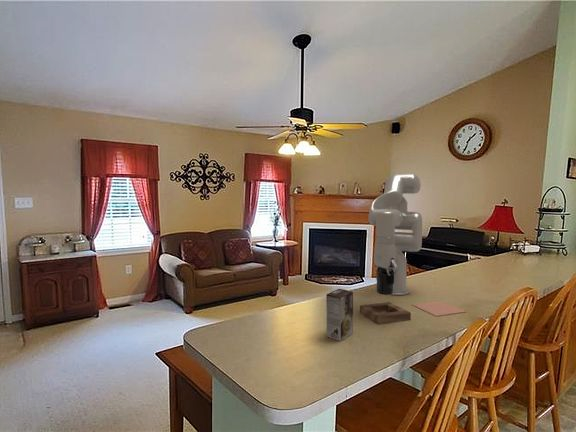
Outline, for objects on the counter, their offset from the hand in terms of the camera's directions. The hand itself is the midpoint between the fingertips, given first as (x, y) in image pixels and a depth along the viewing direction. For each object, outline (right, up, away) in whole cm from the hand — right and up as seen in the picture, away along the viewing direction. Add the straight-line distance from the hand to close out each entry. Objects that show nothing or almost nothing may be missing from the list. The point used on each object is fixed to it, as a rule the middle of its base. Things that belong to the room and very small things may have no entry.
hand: (384, 281), depth 148 cm
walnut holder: (0, -15, +1) cm, 15 cm away
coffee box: (-22, -16, -19) cm, 33 cm away
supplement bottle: (0, -5, 0) cm, 5 cm away
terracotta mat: (+26, -14, +9) cm, 31 cm away
